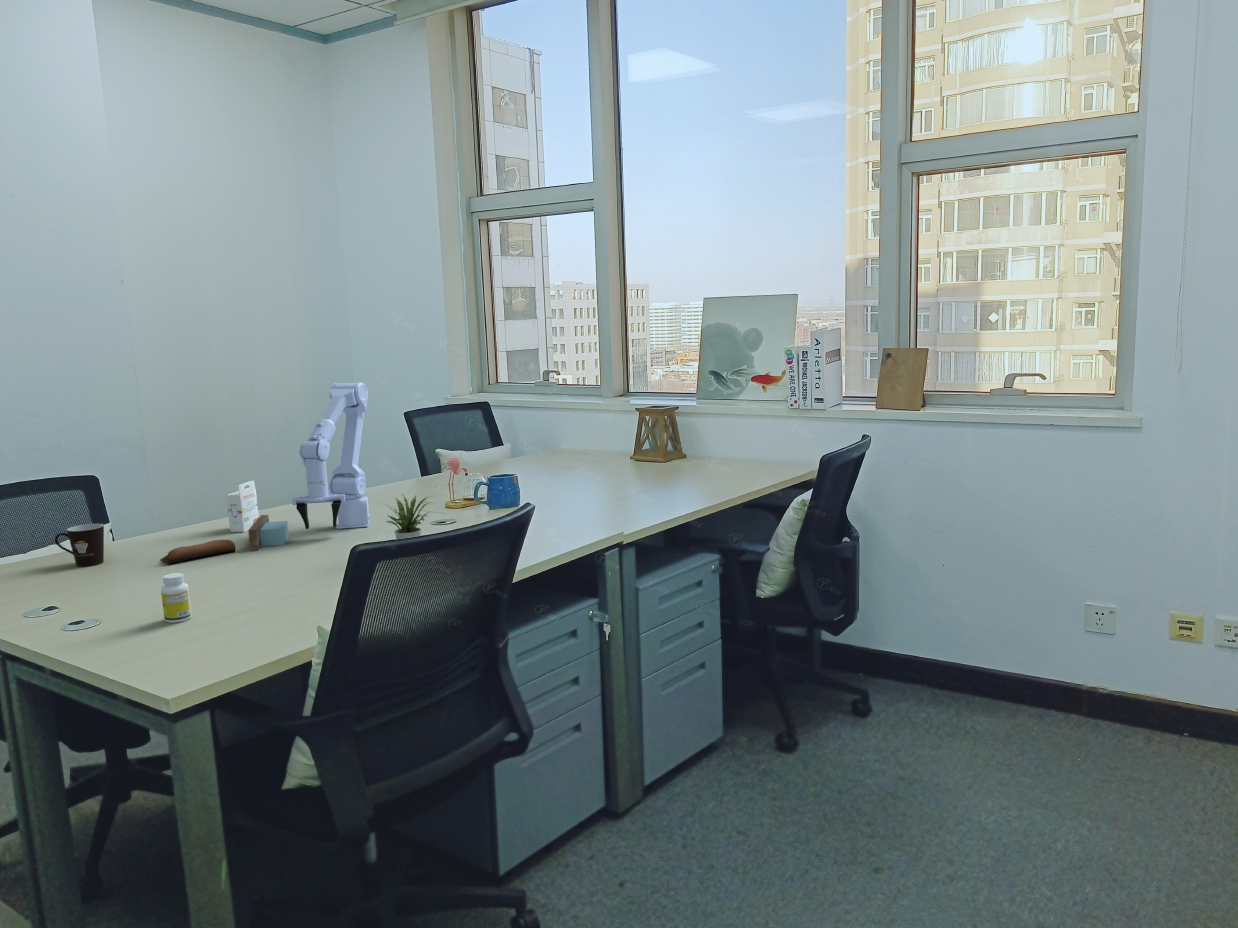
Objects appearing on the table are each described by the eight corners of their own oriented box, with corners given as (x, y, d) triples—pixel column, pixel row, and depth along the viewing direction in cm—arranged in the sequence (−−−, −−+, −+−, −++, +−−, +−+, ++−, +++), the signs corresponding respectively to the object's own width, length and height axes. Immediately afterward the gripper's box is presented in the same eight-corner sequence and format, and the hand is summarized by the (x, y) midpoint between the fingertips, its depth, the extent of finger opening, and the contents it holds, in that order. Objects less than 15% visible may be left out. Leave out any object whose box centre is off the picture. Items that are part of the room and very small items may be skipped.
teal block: (288, 537, 272) (287, 520, 271) (283, 545, 262) (282, 528, 262) (267, 538, 271) (265, 522, 270) (261, 547, 261) (259, 529, 261)
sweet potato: (224, 547, 262) (227, 529, 258) (234, 562, 258) (237, 544, 255) (157, 560, 249) (159, 541, 246) (166, 577, 245) (169, 558, 242)
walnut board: (270, 534, 276) (268, 514, 275) (257, 550, 257) (255, 529, 256) (263, 534, 276) (261, 515, 275) (250, 550, 256) (248, 529, 255)
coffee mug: (115, 560, 250) (111, 524, 249) (88, 568, 242) (83, 531, 241) (83, 557, 254) (78, 522, 253) (55, 566, 246) (50, 529, 245)
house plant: (451, 548, 252) (447, 489, 250) (420, 561, 240) (416, 499, 237) (409, 544, 258) (405, 487, 256) (376, 556, 246) (372, 496, 243)
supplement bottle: (170, 615, 201) (165, 572, 199) (196, 614, 201) (191, 571, 200) (160, 624, 195) (155, 579, 194) (186, 622, 196) (181, 578, 194)
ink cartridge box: (245, 525, 289) (241, 479, 286) (260, 526, 288) (255, 479, 285) (229, 532, 280) (224, 484, 278) (243, 532, 279) (239, 484, 277)
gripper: (288, 485, 261) (293, 532, 264) (341, 482, 264) (345, 528, 266) (292, 481, 268) (296, 526, 270) (344, 477, 271) (347, 522, 273)
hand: (321, 527), depth 269 cm, fingers open, 7 cm apart
